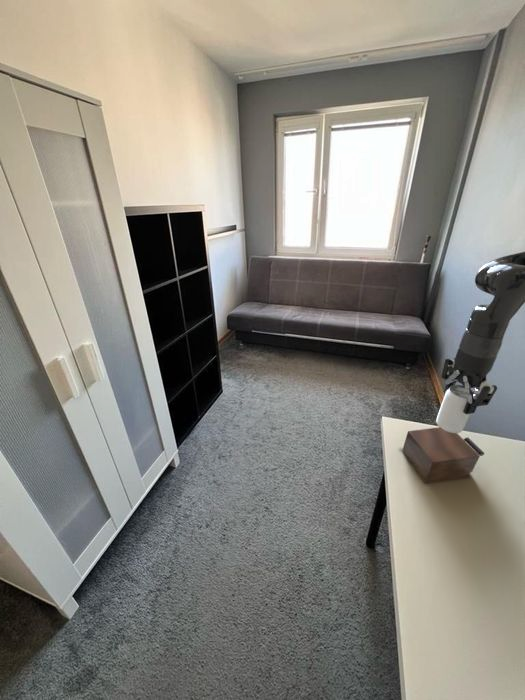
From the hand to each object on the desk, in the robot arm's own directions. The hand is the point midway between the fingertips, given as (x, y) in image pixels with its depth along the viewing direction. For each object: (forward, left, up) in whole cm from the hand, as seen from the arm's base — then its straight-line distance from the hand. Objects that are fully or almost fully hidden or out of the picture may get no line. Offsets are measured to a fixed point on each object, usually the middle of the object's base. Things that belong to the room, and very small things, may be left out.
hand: (457, 403), depth 74 cm
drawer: (-4, 0, -22) cm, 23 cm away
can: (0, 0, -8) cm, 8 cm away
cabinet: (0, 0, -23) cm, 23 cm away
